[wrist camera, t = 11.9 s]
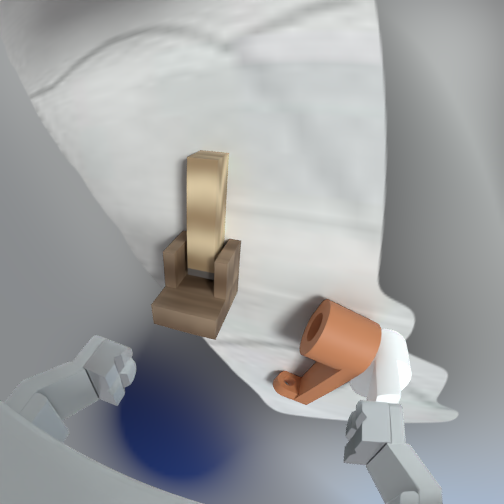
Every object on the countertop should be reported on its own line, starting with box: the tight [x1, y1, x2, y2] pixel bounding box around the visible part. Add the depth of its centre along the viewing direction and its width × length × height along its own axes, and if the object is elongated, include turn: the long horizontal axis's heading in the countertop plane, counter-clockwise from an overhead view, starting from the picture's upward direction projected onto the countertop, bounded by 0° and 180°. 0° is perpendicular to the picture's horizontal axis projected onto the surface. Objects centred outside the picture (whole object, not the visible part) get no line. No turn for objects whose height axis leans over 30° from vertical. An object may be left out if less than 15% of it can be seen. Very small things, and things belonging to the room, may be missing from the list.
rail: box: [187, 150, 229, 280], centre depth 38 cm, size 15×4×4 cm, turn 175°
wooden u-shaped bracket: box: [151, 231, 241, 340], centre depth 39 cm, size 8×8×10 cm
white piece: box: [350, 329, 412, 404], centre depth 39 cm, size 9×9×12 cm
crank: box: [273, 299, 382, 405], centre depth 43 cm, size 20×8×8 cm, turn 157°
